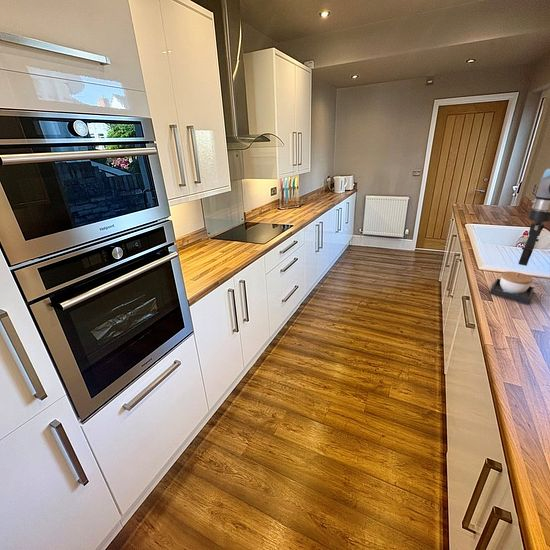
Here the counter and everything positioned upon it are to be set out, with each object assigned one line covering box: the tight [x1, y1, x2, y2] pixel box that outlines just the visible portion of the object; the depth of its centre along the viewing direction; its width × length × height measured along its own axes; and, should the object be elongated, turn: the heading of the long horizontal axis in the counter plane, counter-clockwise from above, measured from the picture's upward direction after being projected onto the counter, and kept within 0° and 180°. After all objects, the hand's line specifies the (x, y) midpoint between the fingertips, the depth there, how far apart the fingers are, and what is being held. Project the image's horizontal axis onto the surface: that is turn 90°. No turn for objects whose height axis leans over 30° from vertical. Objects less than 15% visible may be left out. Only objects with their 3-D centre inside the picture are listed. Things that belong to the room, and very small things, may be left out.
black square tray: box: [489, 278, 535, 305], centre depth 130 cm, size 14×14×2 cm
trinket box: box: [499, 271, 533, 295], centre depth 128 cm, size 11×11×9 cm
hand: (524, 260), depth 123 cm, fingers open, 13 cm apart
